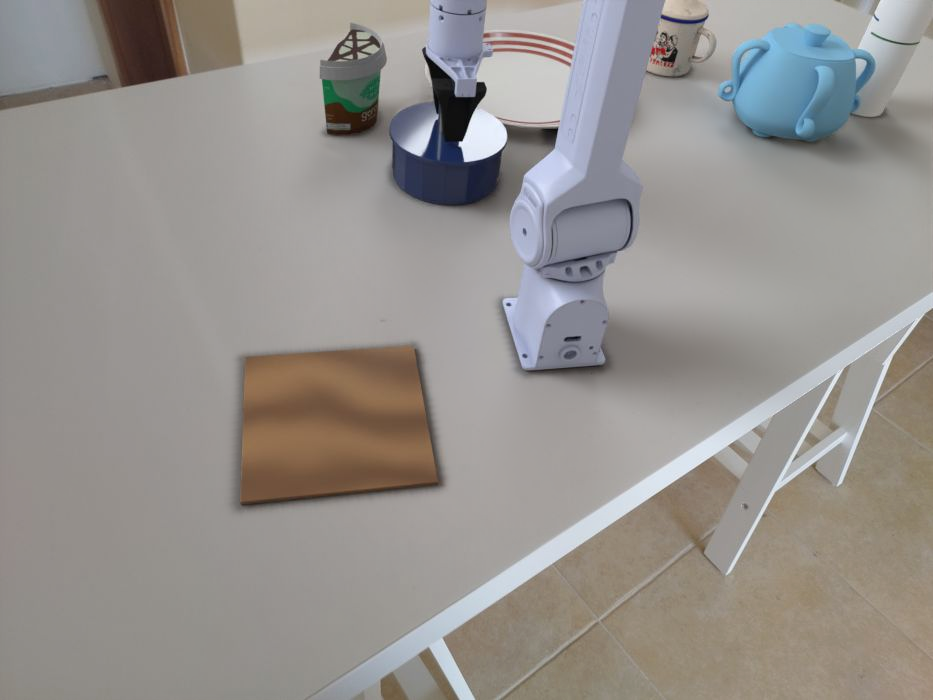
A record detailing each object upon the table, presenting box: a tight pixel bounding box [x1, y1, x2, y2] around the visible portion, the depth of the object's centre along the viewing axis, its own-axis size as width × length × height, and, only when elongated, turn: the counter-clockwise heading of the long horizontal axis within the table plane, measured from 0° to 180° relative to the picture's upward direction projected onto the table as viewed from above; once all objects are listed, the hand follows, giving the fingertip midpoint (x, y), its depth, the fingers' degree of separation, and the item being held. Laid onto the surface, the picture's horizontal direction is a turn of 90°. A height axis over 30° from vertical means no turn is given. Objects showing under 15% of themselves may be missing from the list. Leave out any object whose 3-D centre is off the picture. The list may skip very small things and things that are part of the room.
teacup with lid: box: [646, 0, 717, 77], centre depth 111 cm, size 12×9×12 cm
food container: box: [319, 21, 388, 136], centre depth 92 cm, size 12×6×10 cm, turn 168°
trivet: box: [239, 345, 439, 505], centre depth 62 cm, size 15×15×1 cm
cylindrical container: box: [851, 0, 933, 118], centre depth 103 cm, size 7×7×25 cm
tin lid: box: [388, 101, 509, 166], centre depth 84 cm, size 14×14×5 cm
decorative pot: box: [717, 22, 876, 142], centre depth 100 cm, size 16×16×14 cm
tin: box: [391, 142, 503, 206], centre depth 87 cm, size 13×13×5 cm
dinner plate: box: [424, 29, 575, 130], centre depth 103 cm, size 27×27×3 cm
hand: (449, 126), depth 84 cm, fingers open, 5 cm apart
